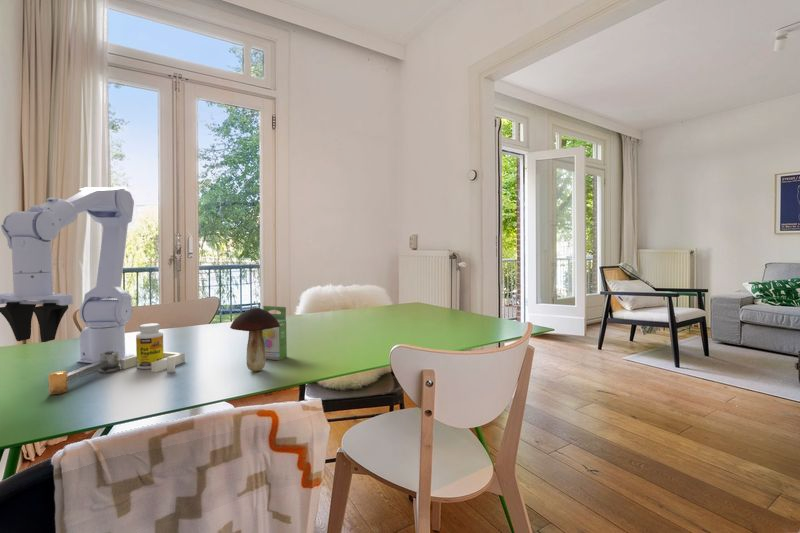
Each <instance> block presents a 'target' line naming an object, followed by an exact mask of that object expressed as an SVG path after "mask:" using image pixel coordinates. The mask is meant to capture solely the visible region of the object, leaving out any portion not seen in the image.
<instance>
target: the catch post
mask: <svg viewBox="0 0 800 533" xmlns="http://www.w3.org/2000/svg"><path fill="white" fill-rule="evenodd" d="M166 371H167V373H168V374H170V373H175V372H176V365H175V356H169V357H167V369H166Z"/></svg>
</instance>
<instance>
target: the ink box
mask: <svg viewBox="0 0 800 533" xmlns="http://www.w3.org/2000/svg"><path fill="white" fill-rule="evenodd" d="M262 309H263V310H266V311H268V312H269V311H277V312H279V313H270V312H269V313H270V314H272V315H273V316H274V317H275V318H276V319H277V320H278V322H279V324H280V327H276V328H271V329H265V330H262V332H263V338H264V344H265V355H266V360H272V361H273V360H274V361H276V360H277V361H281V360H283V359H284V358H286V357H288V351H287V350H288V349H287V344H288V342H287V339H288V338H287V320H286V319H287V317H286V316H287V307H286V306H275V305H273V306H271V305H263V308H262Z"/></svg>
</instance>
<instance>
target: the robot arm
mask: <svg viewBox="0 0 800 533" xmlns="http://www.w3.org/2000/svg"><path fill="white" fill-rule="evenodd" d="M45 201H46V202H44V203H41V204H39V205H38V204H37V205H34V204H33V205H31V206H30V207H29V208H28V209H27V210H25V211H22V210H21V211H20V210H19V211H15V210H14V211H12V212H10V213H9V214H7V215H6V216H5V218H4V219H3V222H2V224H0V228H1V231H2V233H3V235H4V237H5V238H6V240H7V247H9V249H10V250H11V259H12V260H11V261H12V262H11V263H12V282H13V293H8V292H7V293H0V305H4V306H1V307H0V313H1V315H2V316H3V317H4V318H5V320H6V321H7V322H8V325H9V326H10V329H11V331H12V333H13V336H14V339H15V340H16V342H21V341H27V340H30V339H31V336H32V322H33V321H32V320H33V315H34V314H35V317H36V321H37V322H38V326H39V336H40V340H41V342H43V343H46V342H51V341H54V340H56V336H57V334H58V333H57V332H58V328H59V325H60V323H61V321H62V318H63V317H64V315H65V314H66V312H67V310H68V309H69V305H73V303H74V302H73V294H67V293H64V294H63V293H58V292H57V293H56V292H54V286H53V284H54V283H53V281H54V280H53V262H52V260H53V259H52V258H53V256H52V240H55V239H56V238H57V237H58V235H59V233H60V231H61V230H62V229H63V228H65V227H67V226H69V225H71V224H72V223H74V222H75V221H76V220H77V218H78V214H80V213H83V212H86V213H87V214H88V215H89V216H90V217H91V219H92V220H94V222H96V223H98V224H101V226H102V236H101V245H100V252H99V260H98V268H97V269H98V270H97V274H96V276H97V277H96V282H95V283H96V284H95V287H93V288H92V289H90V290H89V291H87V292H85V293H84V298H83V301H82V303H81V305H80V307H79V312H78V313H79V318H80V319H81V320H80V321H81V322H82V323H83V324H85V326H84V328H83V329H82V330H81V331H80V334H79V353H80V354H79V355H80V356H79V359H77V360H76V362H78V363H87V364H92V363H95V362H98V361H100V356H99V355H100V354H102V353H105V352H107V351H113V352H119V361H120V359H124V358H127V357H131V356H134V355H135V354H132V353H126V337H125V336H126V334H125V332H126V331H125V325H126V324H128V322H130V320H131V318H132V316H133V312H134V311H133V304H132V298H133V297H132V295H131V294H130V293H129V292H128V291H126V289H123V287H122V280H123V271H124V261H125V253H126V247H127V246H126V245H127V236H128V230H129V229H128V228H129V224H130V223H132V221H133V215H134V206H135V201H134V199H133V197H132V193H131V192H130V190H128V189H127V188H126V187H91V186H86V187H83V188H79V189H78V192H77V193H76V194H73V195H72V196H70V197H68V198H66V199H63V198H59V197H48V198H46V200H45ZM37 305H39V306H37Z"/></svg>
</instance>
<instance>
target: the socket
mask: <svg viewBox="0 0 800 533" xmlns="http://www.w3.org/2000/svg"><path fill="white" fill-rule="evenodd" d="M163 356H164V359H161V360H158V361H155V362H152V363H151V373H158V372H161V371H164V370H167V357H169V356H175V366H177V365H180V364H183V363H185V362H186V354H185V353H184V352H174V351H173V352H172V351H164V350H163ZM119 366H120V370H126V369H128V368H132V367H135V366H136V367H137V354H134V356H131V357H127V358H124V359H120V360H119Z"/></svg>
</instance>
